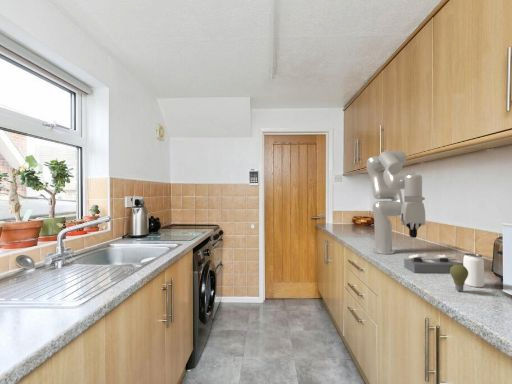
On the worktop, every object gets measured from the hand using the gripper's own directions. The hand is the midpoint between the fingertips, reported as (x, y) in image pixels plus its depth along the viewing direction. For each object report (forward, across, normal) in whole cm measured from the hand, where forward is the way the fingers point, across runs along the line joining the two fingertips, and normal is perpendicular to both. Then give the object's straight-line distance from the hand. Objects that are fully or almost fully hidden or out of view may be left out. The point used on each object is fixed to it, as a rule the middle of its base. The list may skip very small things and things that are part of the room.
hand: (413, 237), depth 136 cm
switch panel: (+15, -8, +4) cm, 18 cm away
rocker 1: (+8, 0, +4) cm, 9 cm away
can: (+14, -11, +26) cm, 31 cm away
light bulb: (+14, -1, +32) cm, 35 cm away
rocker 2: (+8, -12, +4) cm, 15 cm away
